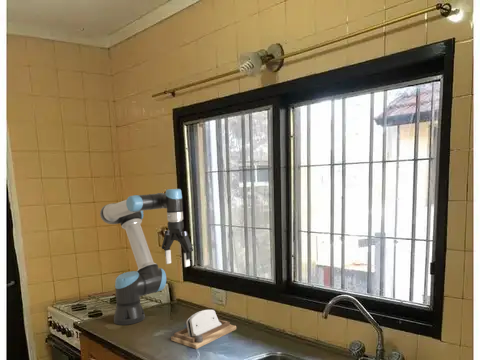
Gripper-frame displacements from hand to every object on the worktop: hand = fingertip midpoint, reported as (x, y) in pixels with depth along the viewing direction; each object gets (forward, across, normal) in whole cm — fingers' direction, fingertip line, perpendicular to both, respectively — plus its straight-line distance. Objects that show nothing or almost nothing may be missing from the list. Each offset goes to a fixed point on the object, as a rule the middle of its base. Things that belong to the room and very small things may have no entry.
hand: (177, 265), depth 195 cm
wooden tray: (+29, +19, -3) cm, 35 cm away
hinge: (+27, +19, -3) cm, 33 cm away
